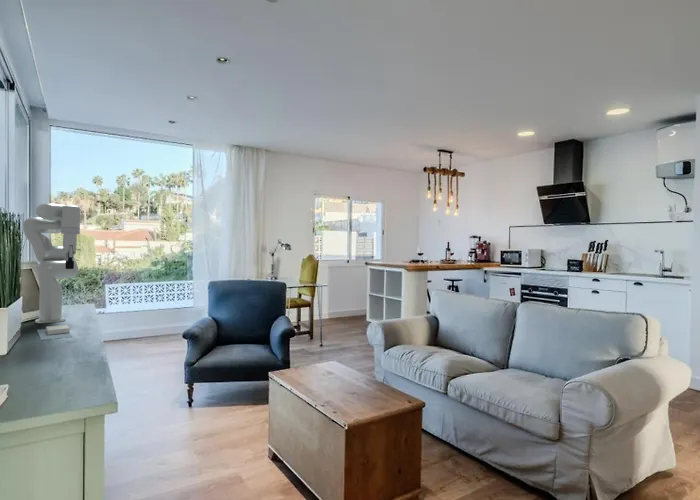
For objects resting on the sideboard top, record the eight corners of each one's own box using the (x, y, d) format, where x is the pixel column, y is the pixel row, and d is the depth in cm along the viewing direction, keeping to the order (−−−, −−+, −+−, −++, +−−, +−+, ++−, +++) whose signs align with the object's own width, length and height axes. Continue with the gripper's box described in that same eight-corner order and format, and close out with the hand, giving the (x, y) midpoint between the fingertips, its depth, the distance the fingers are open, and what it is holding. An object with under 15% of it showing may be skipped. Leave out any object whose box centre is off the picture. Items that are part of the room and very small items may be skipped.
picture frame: (46, 326, 190) (47, 330, 183) (67, 324, 195) (69, 328, 188) (46, 331, 190) (47, 334, 183) (67, 329, 195) (69, 332, 188)
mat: (36, 330, 192) (36, 329, 192) (65, 327, 199) (65, 326, 199) (41, 340, 174) (41, 339, 174) (72, 337, 181) (72, 336, 181)
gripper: (60, 230, 202) (59, 267, 203) (62, 231, 190) (61, 270, 191) (78, 231, 207) (77, 267, 207) (81, 231, 195) (80, 270, 196)
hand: (69, 268), depth 199 cm, fingers closed
